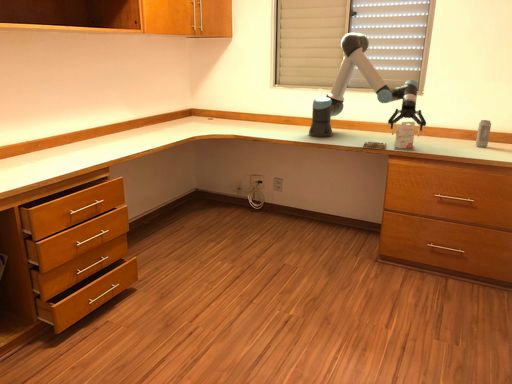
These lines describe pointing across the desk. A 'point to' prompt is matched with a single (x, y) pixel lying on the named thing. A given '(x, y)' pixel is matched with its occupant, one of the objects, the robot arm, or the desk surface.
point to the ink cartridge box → (405, 135)
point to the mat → (404, 148)
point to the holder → (374, 145)
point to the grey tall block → (483, 133)
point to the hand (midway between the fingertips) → (405, 134)
